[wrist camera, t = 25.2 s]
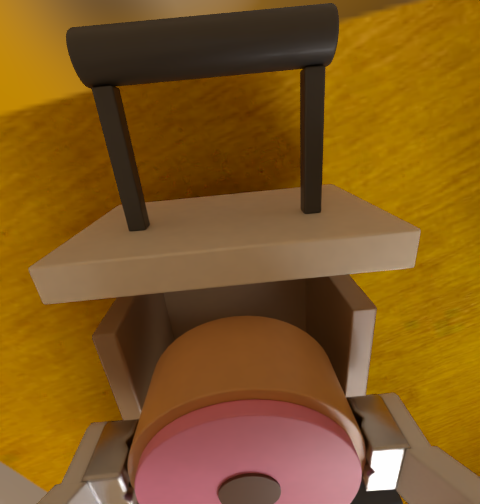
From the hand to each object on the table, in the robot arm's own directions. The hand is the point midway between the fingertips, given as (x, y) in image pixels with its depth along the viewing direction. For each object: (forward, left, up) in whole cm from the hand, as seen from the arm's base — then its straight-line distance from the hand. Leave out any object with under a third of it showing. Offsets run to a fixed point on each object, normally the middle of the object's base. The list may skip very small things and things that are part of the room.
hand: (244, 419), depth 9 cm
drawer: (-2, 0, -8) cm, 8 cm away
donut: (0, 0, -1) cm, 1 cm away
